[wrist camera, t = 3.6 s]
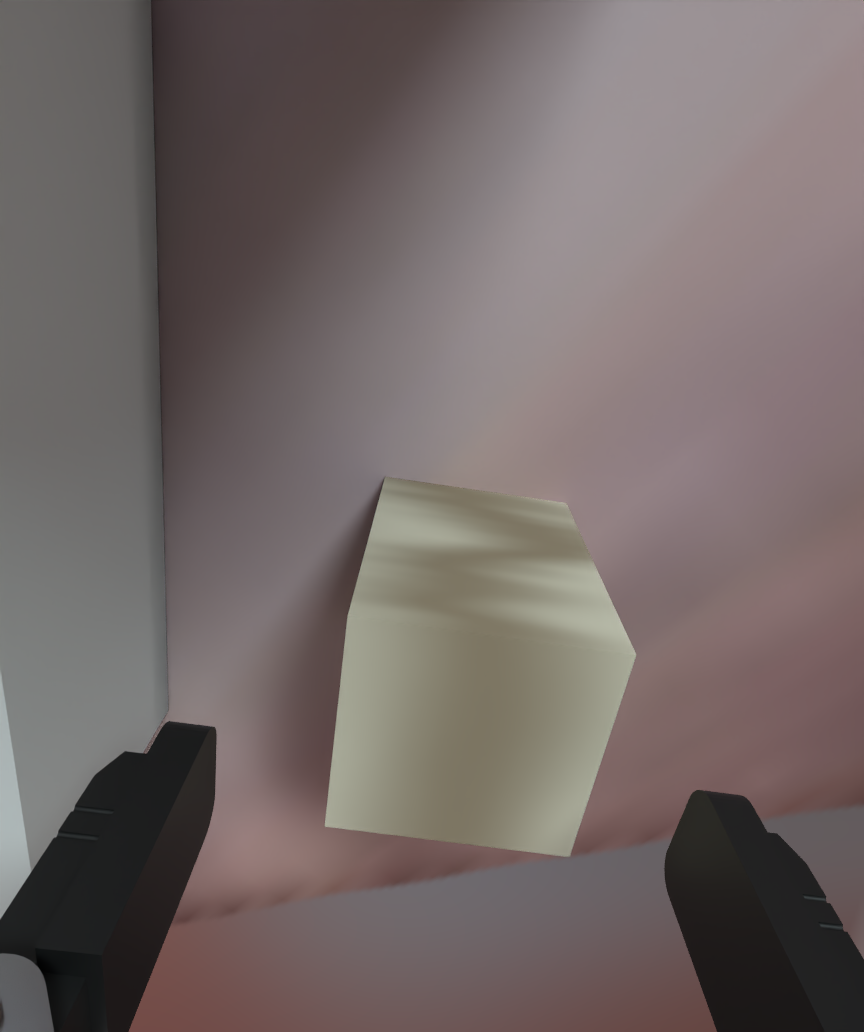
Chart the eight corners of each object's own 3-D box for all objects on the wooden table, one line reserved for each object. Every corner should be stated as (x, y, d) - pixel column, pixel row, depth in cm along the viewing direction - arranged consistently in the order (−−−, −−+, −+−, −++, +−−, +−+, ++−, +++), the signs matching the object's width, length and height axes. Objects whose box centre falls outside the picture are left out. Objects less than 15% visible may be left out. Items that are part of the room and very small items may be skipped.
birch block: (565, 502, 17) (635, 655, 11) (528, 652, 19) (569, 857, 13) (385, 476, 17) (347, 615, 11) (365, 630, 19) (324, 826, 13)
